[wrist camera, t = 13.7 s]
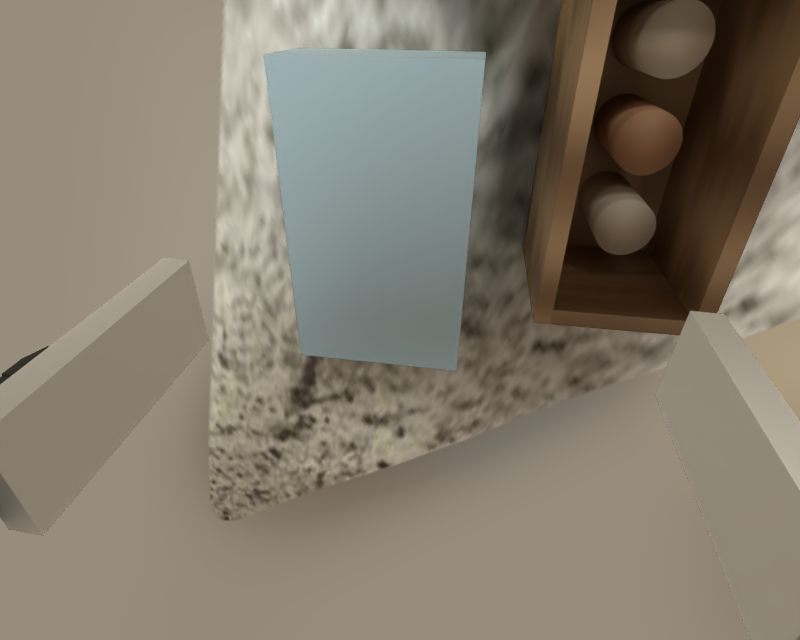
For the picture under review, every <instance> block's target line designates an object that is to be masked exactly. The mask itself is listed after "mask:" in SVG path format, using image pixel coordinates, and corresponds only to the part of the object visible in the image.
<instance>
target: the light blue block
mask: <svg viewBox="0 0 800 640" xmlns="http://www.w3.org/2000/svg"><path fill="white" fill-rule="evenodd" d="M485 58H486V52H471V51H423V50H375V49H326V48H297V49H291V50H285V51H280V52H274V53H269V54H264V62H265V70H266V78H267V86H268V94H269V102H270V110H271V118H272V126H273V134H274V142H275V150H276V158H277V166H278V174H279V182H280V190H281V198H282V206H283V214H284V222H285V230H286V238H287V246H288V254H289V262H290V270H291V278H292V286H293V293H294V301H295V309H296V317H297V325H298V333H299V341H300V349H301V355H308V356H318V357H327V358H337V359H346V360H356V361H366V362H375V363H385V364H394V365H404V366H414V367H423V368H433V369H442V370H452V371H457V362H458V351H459V341H460V330H461V319H462V308H463V297H464V286H465V276H466V265H467V254H468V243H469V232H470V221H471V210H472V199H473V189H474V178H475V167H476V156H477V145H478V134H479V123H480V112H481V102H482V91H483V80H484V69H485Z"/></svg>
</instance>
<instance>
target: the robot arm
mask: <svg viewBox="0 0 800 640" xmlns="http://www.w3.org/2000/svg"><path fill="white" fill-rule="evenodd" d="M208 341H209V339H208V335H207V331H206V327H205V323H204V319H203V315H202V311H201V307H200V303H199V299H198V295H197V291H196V287H195V283H194V279H193V275H192V272H191V267H190V263H189V261H188V260H178V259H168V258H163V259H162V260H160V261H159V262H158V263H157V264H155V265H154V266H153V267H151V268H150V269H149V270H147V271H146V272H145V273H144V274H142V275H141V276H140V277H138V278H137V279H136V280H135V281H133V282H132V283H131V284H129V285H128V286H127V287H125V288H124V289H123V290H122V291H120V292H119V293H118V294H117V295H115V296H114V297H113V298H111V299H110V300H109V301H107V302H106V303H105V304H104V305H102V306H101V307H100V308H98V309H97V310H96V311H94V312H93V313H92V314H91V315H89V316H88V317H87V318H85V319H84V320H83V321H82V322H80V323H79V324H78V325H76V326H75V327H74V328H73V329H71V330H70V331H69V332H67V333H66V334H65V335H64V336H62V337H61V338H60V339H58V340H57V341H56V342H55V343H53V344H52V345H51V346H47V347H45V348H43V349H41V350H39V351H37V352H35V353H33V354H31V355H29V356H27V357H24V358H23V359H21V360H20V361H18V362H17V363H16V364H15V365H13V366H12V367H10V368H9V369H8V370H7V371H5V372H4V373H2V377H0V518H1V519H2V520H3V522H4V523H5V525H6V526H7V527H8V528H9V530H15V531H20V532H25V533H31V534H36V535H41V536H44V534H45V533H46V532H47V531H48V530H49V528H50V527H51V526H52V525H53V524H54V523H55V521H56V520H57V519H58V518H59V517H60V515H61V514H62V513H63V512H64V511H65V510H66V508H67V507H68V506H69V505H70V504H71V502H72V501H73V500H74V499H75V498H76V496H77V495H78V494H79V493H80V492H81V491H82V489H83V488H84V487H85V486H86V485H87V484H88V482H89V481H90V480H91V479H92V478H93V477H94V475H95V474H96V473H97V472H98V471H99V469H100V468H101V467H102V466H103V465H104V464H105V462H106V461H107V460H108V459H109V457H110V456H111V455H112V454H113V453H114V452H115V451H116V449H117V448H118V447H119V446H120V445H121V444H122V442H123V441H124V440H125V439H126V438H127V436H128V435H129V434H130V433H131V432H132V430H133V429H134V428H135V427H136V426H137V425H138V423H139V422H140V421H141V420H142V418H144V416H145V415H146V414H147V413H148V412H149V410H150V409H151V408H152V407H153V406H154V405H155V403H156V402H157V401H158V400H159V399H160V397H161V396H162V395H163V394H164V393H165V392H166V390H167V389H168V388H169V387H170V386H171V385H172V383H173V382H174V381H175V379H177V377H178V376H179V375H180V374H181V373H182V372H183V370H184V369H185V368H186V367H187V366H188V364H189V363H190V362H191V361H192V360H193V359H194V357H195V356H196V355H197V354H198V352H199V351H200V350H201V349H202V348H203V347H204V346H205V344H206V343H207V342H208ZM655 397H656V399H657V402H658V405H659V407H660V410H661V412H662V415H663V417H664V420H665V423H666V425H667V427H668V430H669V433H670V435H671V438H672V440H673V443H674V445H675V448H676V451H677V453H678V455H679V458H680V461H681V463H682V466H683V468H684V471H685V473H686V476H687V479H688V481H689V484H690V486H691V489H692V491H693V494H694V497H695V499H696V502H697V504H698V507H699V509H700V512H701V515H702V517H703V520H704V522H705V525H706V527H707V530H708V533H709V535H710V538H711V540H712V543H713V545H714V548H715V550H716V553H717V556H718V558H719V561H720V563H721V566H722V568H723V571H724V573H725V576H726V579H727V581H728V584H729V586H730V588H731V591H732V594H733V596H734V599H735V602H736V604H737V607H738V609H739V612H740V614H741V617H742V620H743V622H744V625H745V627H746V630H747V632H748V635H749V637H750V640H800V421H799V419H798V418H797V416H796V415H795V413H794V412H793V411H792V409H791V408H790V406H789V405H788V404H787V402H786V401H785V399H784V398H783V397H782V395H781V394H780V392H779V391H778V389H777V388H776V387H775V385H774V384H773V382H772V381H771V380H770V378H769V377H768V375H767V374H766V373H765V371H764V370H763V368H762V367H761V365H760V364H759V363H758V362H757V360H756V359H755V357H754V356H753V354H752V353H751V351H750V350H749V349H748V347H747V346H746V344H745V343H744V342H743V340H742V339H741V337H740V336H739V334H738V333H737V332H736V330H735V329H734V327H733V326H732V325H731V323H730V322H729V320H728V319H727V318H726V316H725V315H724V314H718V313H708V312H698V311H690V312H689V315H688V317H687V320H686V322H685V324H684V327H683V329H682V331H681V334H680V336H679V339H678V341H677V343H676V346H675V348H674V350H673V353H672V355H671V358H670V360H669V362H668V365H667V367H666V369H665V372H664V374H663V377H662V379H661V381H660V384H659V386H658V388H657V391H656V393H655Z"/></svg>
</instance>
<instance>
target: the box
mask: <svg viewBox="0 0 800 640" xmlns="http://www.w3.org/2000/svg"><path fill="white" fill-rule="evenodd" d="M799 118H800V0H562V1H561V8H560V14H559V20H558V27H557V33H556V40H555V46H554V53H553V59H552V65H551V72H550V78H549V85H548V91H547V98H546V104H545V110H544V117H543V123H542V130H541V136H540V143H539V149H538V155H537V162H536V168H535V175H534V181H533V188H532V194H531V200H530V207H529V213H528V220H527V226H526V233H525V239H524V245H523V252H524V259H525V266H526V273H527V280H528V287H529V294H530V301H531V308H532V315H533V322H534V323H544V324H556V325H567V326H579V327H590V328H601V329H613V330H624V331H636V332H647V333H659V334H670V335H680V334H681V331H682V329H683V327H684V324H685V322H686V320H687V317H688V315H689V312H690V311H698V312H708V313H717V312H718V310H719V307H720V305H721V303H722V300H723V298H724V296H725V293H726V291H727V288H728V286H729V284H730V281H731V279H732V277H733V274H734V272H735V269H736V267H737V265H738V262H739V260H740V258H741V255H742V253H743V251H744V248H745V246H746V243H747V241H748V239H749V236H750V234H751V232H752V229H753V227H754V224H755V222H756V220H757V217H758V215H759V213H760V210H761V208H762V205H763V203H764V201H765V198H766V196H767V194H768V191H769V189H770V187H771V184H772V182H773V179H774V177H775V175H776V172H777V170H778V168H779V165H780V163H781V160H782V158H783V156H784V153H785V151H786V149H787V146H788V144H789V142H790V139H791V137H792V134H793V132H794V130H795V127H796V125H797V123H798V120H799Z"/></svg>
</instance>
